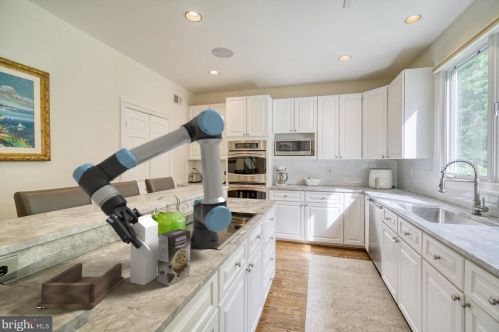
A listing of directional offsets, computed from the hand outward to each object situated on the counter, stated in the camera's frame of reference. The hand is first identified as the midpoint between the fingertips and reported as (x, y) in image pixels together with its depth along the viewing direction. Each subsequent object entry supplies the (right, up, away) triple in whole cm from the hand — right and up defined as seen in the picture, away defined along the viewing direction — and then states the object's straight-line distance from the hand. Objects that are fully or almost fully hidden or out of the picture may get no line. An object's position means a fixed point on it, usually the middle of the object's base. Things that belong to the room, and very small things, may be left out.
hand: (154, 249), depth 74 cm
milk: (-4, -11, 0) cm, 11 cm away
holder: (-17, -10, -8) cm, 22 cm away
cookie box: (+6, -11, +1) cm, 13 cm away
